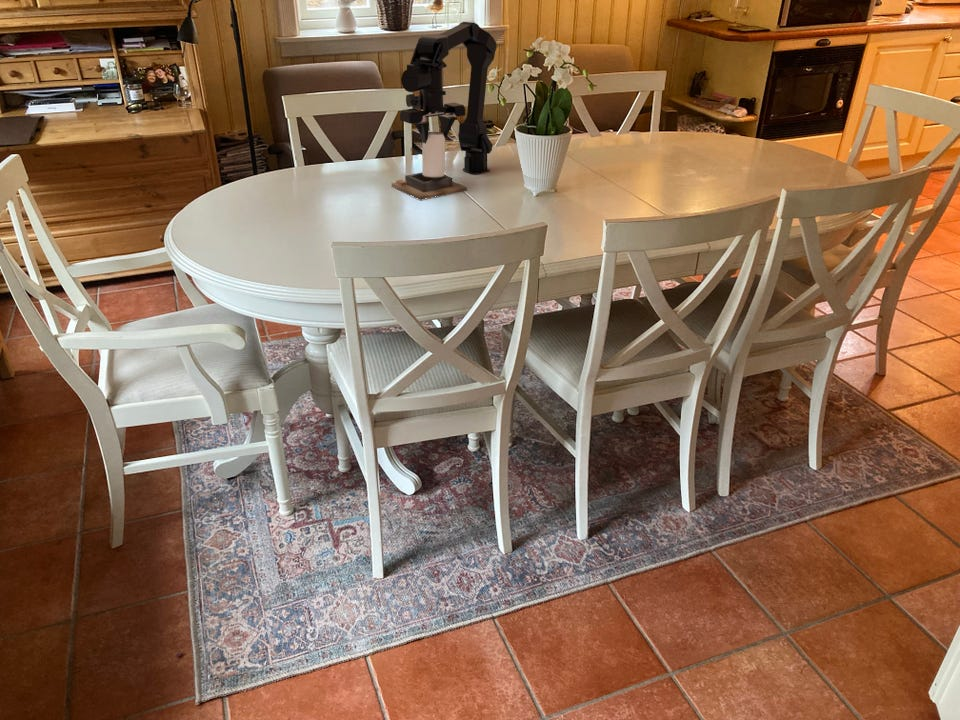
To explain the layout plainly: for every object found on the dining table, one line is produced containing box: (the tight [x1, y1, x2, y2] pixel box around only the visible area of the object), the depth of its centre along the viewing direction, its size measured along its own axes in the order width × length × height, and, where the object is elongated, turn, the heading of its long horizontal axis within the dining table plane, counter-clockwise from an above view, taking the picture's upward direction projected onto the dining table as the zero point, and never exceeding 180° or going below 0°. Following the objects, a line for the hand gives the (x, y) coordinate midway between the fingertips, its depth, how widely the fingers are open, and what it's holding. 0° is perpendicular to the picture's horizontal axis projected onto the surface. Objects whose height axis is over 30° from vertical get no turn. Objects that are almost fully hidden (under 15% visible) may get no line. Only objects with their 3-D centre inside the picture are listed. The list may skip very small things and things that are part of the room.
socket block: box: [391, 172, 468, 200], centre depth 220 cm, size 16×16×4 cm
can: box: [421, 131, 446, 178], centre depth 215 cm, size 6×6×12 cm
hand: (434, 144), depth 214 cm, fingers closed on can, 6 cm apart
